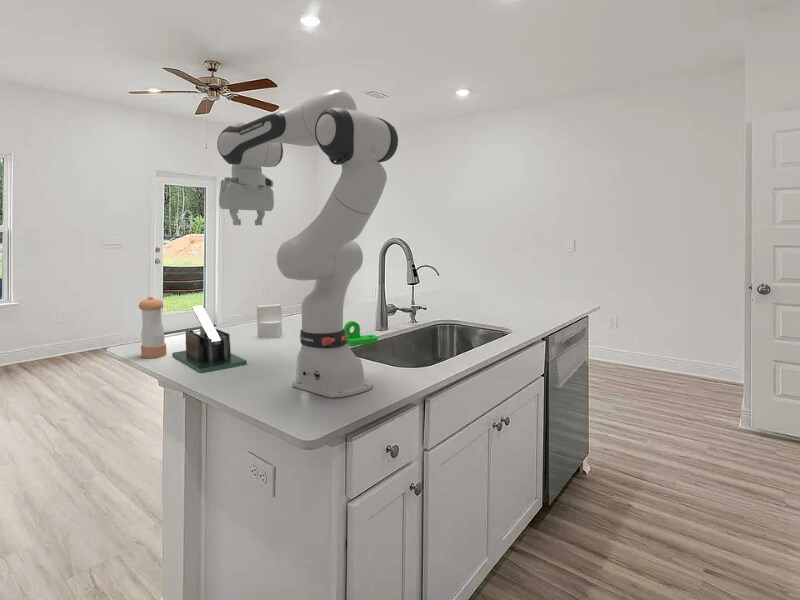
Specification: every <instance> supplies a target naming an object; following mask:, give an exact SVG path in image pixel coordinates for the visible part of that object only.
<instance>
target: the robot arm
mask: <svg viewBox="0 0 800 600" xmlns="http://www.w3.org/2000/svg"><path fill="white" fill-rule="evenodd" d="M283 144H288V145H293V146H301V147H312V146H313V147H314V146H318V147H319V149H321V151H322V152H323V154H325V155H326V156H327V157H328V160H329V161H330V162H331V164H333V165H337V166H339V165H341V173H340V176H339V178H338V180H337V181H336V184H335V185H334V187H333V190H332V191H331V193H330V195H329V197H328V199H327V201H326V203H325V205H324V206H323V208H322V209H321V211H320V213H319V214H318V215H317V217H315V219H314V220H313V221H312V222H311V223H310V224H309V225H308V226H307V227H305V228H304V229H303V230H302V231H301V232H299V233H297V235H296V236H294V237H292V238H289V239H288V240H286V241H284V242H283V243H281V245H280V246H279V248H278V250H277V252H276V253H277V254H276V265H277V268H278V270H279V272H280V273H281V274H282V275H283V276H284V277H285V278H286V279H290V280H296V281H314V280H315V284H314V286H313V287H312V288H313V289H312V290H311V291H310V293H308V294H307V295H305V297H304V298H303V300H302V302H301V329H300V334H299V340H300V344H301V347H300V350H299V352H298V353H297V357H296V367H295V369H296V370H295V371H296V372H295V379H294V380H293V381H292V382H291V383H292V384H291V386H292V387H293V388H296V389H299V390H303V391H306V392H309V393H313V394H316V395H320V396H323V397H327V398H331V399H332V398H334V399H335V398H342V397H348V396H353V395H356V394H357V395H358V394H361V393H363V392H366V391H369V390H371V389H372V388H373V387H374V384H373V382H371V381H370V380H368V379H367V378H365V375H364V366H363V363H362V360H361V359H360V358H358V357H357V356H356V354H355V353H354V352H353V351H352V349H350V347H349V345H348V344H347V340H348V339H349V338H346V337H348V336H349V335H346V334H345V330H344V306H345V305H344V303H345V297H346V293H347V290H348V289H349V285H350V283H351V281H352V279H353V277H354V276H355V275H356V273H358V272H359V271H360V270H361V267H362V265H363V261H364V254H363V251H362V248H361V246H360V244H359V243H358V242H356V241H355V240H356V239H357V238H358V237H359V236H360V235H361V234H362V232H363V231H364V228H365V226H366V224H367V223H368V221H369V219H370V217H371V216H372V214H373V213H374V211H375V209H376V207H377V205H378V203H379V202H380V199H381V198H382V194H383V192H384V189H385V186H386V183H387V180H388V178H387V177H388V174H387V171H386V169H385V167H384V166H383V165H382V164H381V163H385V162H387V161H389V160H391V158H393V156H394V155H395V154H396V152H397V148H398V144H399V136H398V132H397V129H396V128H395V127H394V125H392V124H391V123H390V122H388V121H387V120H386V119H383V118H381V117H378V116H373V115H370V114H367V113H366V112H363V111H358V109H357V105H356V102H355V100H354V98H353V97H352V96H351V94H349V93H348V92H347V91H344V89H343V90H342V89H331V90H327V91H323V92H321V93H319V94H316V95H313V96H311V97H310V98H308V99H307V100H304V101H303V102H300V103H298V104H296V105H293V106H291V107H288V108H286V109H283V110H279V111H277V112H273V113H270V114H267V115H264V116H262V117H259V118H257V119H254V120H252V121H249V122H239V123H236V124H235V125H228V126H227V127H226V128H224V129H223V130H222V131H221V133H220V134H219V136H218V139H217V151H218V153H219V154H220V156H221V157H222V159H223V160H224V161H225V162H226V163H227V164H228V165H231V177H229V176H225V177H224V178H223V179H222V180H221V181H220V187H219V197H218V206H219V207H220V209H222V210H229V215H230V216H231V218H232V225H233V226H241V225H242V223H241V222H242V219H240V218H239V216H238V214H239V210H240V211H256V214H257V215H256V219H255V220H254V226H263V220H264V218H265V215H266V212H272V211H273V209H274V205H275V202H274V201H275V200H274V199H275V196H274V190H273V189H272V188H273V187H274V181H273V180H272V179H270V178H269V177H268V176H266V175H265V174H263V169H262V168H274V167H277V166H278V165H279V164H281V161H282V159H283V157H284V156H283V155H284V147H283Z"/></svg>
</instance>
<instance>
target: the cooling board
mask: <svg viewBox="0 0 800 600" xmlns="http://www.w3.org/2000/svg"><path fill="white" fill-rule="evenodd" d="M215 330H216V332H217V334H218V335H219V337H220V339H221V340H222V342H223V344H222V345H217V346H212V339H211V338H208V337H207V335H206V334H205V332H204V330H203V328H202V326H200V327H199V332H200V334H199V333H196V332H194V330H193V329H190V328H185V350H180V351H175V352H171V353H172V354H171V355H172V357H173V358H174V357H175V358H174V359H176V360H178V361H179V360H180V361H179V362H181V363H183V364H184V363H185V364H184V365H186V366H188V367H189V366H190V367H189V368H191V367H192V368H191V369H193V370H195V371H196V370H197V371H196V372H198V373H200V374H202V372H204V373H208V371H209V372H214V370H215V371H219V370H225V369H229V367H230V368H234V367H235V366H236V367H240V365H241V366H246V365H248V360H246V359H244V358H242V357H240V356H238V355H236V354H233V353H232V352H231V341H230V340H231V339H230V338H231V337H230V333H229V332H225V331H223V330H220V329H218V328H215ZM245 364H246V365H245ZM236 367H235V368H236Z"/></svg>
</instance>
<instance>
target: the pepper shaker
mask: <svg viewBox="0 0 800 600" xmlns="http://www.w3.org/2000/svg"><path fill="white" fill-rule="evenodd" d="M138 308H139V310H141V317H142V319H141V320H142V325H141V334H140V336H141V342H142V343H141V346H140V353H141V354H140V355H141V358H143V357H144V359H156V358H155V357H158V358H162V357H165V356H167V355H166V354H167V353H168V352H167V344H166V342H165V340H166V339H165V331H164V327H163V322H162V321H163V320H162V309H163V308H164V303H163V301H162V300H161V299H157V298H154V297H153V296H148V297H147V299H143V300H141V301H139V303H138ZM164 355H165V356H164ZM161 356H162V357H161Z"/></svg>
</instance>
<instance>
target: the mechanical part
mask: <svg viewBox="0 0 800 600" xmlns="http://www.w3.org/2000/svg"><path fill="white" fill-rule="evenodd" d="M352 327H353V331H351V328H352ZM343 329H344V330H345V334H346V335H349V336H348V337H346V338H349V339H348V340H347V345H348V346H351V347H353V346H362V345H368V344H376V343H378V341H379V336H378V335H376V334H366V335H365V334H364V335H361V327H360V323H359V324H358V322H356V321H353V320H349V321H347V322H346V323H345V324H344V325H343Z"/></svg>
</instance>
